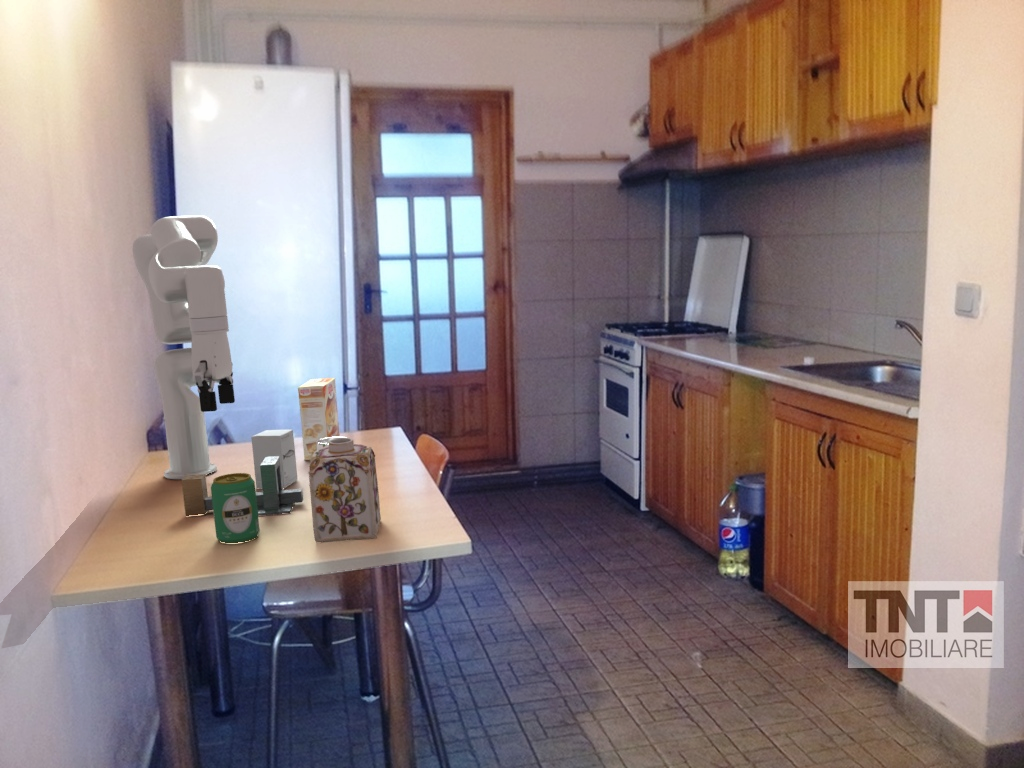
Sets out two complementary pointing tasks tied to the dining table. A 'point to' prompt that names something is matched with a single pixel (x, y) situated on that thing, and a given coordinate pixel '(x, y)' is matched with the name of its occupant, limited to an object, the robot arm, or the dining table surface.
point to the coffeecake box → (318, 412)
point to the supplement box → (275, 453)
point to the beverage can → (235, 508)
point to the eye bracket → (272, 487)
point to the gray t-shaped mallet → (201, 503)
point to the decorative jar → (344, 492)
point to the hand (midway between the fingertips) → (218, 407)
